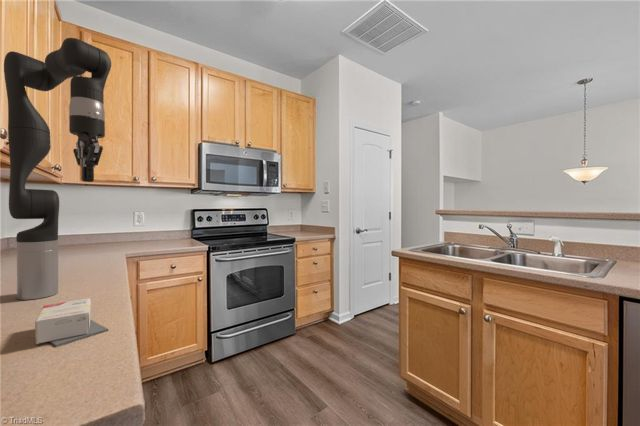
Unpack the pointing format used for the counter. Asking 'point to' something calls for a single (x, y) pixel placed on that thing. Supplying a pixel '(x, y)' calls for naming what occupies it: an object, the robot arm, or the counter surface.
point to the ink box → (63, 320)
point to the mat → (93, 330)
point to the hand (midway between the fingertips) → (87, 181)
